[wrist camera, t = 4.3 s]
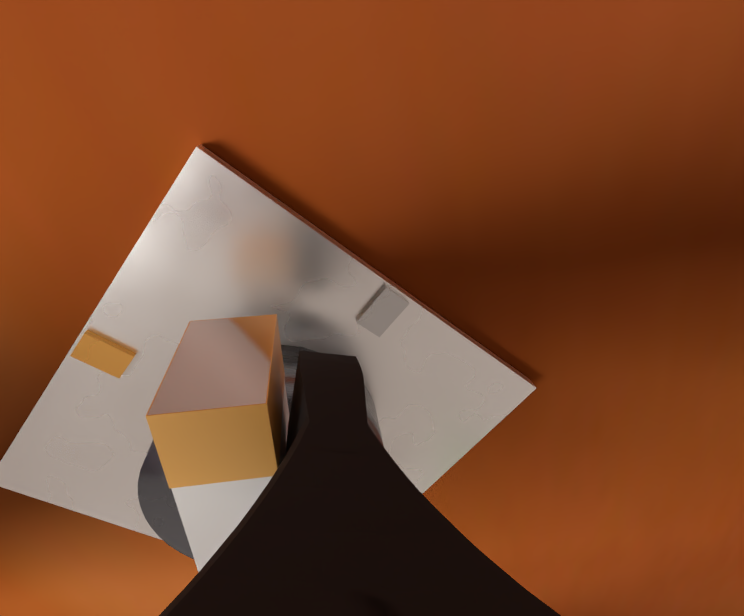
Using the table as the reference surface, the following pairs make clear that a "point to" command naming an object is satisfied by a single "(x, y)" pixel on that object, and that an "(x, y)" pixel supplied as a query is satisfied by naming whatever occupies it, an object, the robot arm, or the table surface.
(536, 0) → the table surface
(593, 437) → the table surface
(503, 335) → the table surface
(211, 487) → the lever handle
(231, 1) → the table surface
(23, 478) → the post base
